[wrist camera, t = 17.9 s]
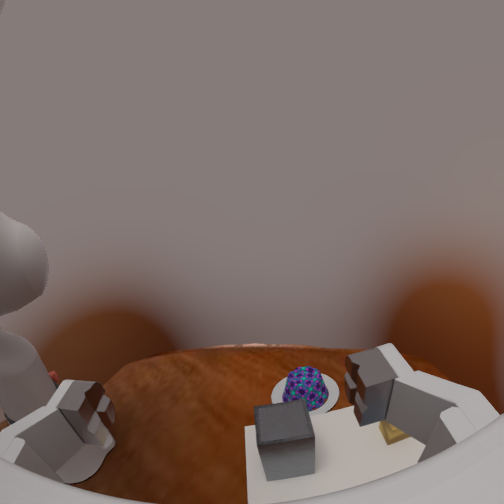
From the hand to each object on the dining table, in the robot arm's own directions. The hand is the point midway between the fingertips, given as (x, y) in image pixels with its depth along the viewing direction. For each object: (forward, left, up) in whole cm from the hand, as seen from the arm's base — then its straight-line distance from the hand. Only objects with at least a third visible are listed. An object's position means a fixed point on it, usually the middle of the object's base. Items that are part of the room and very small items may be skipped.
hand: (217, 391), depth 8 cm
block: (-4, +24, -31) cm, 39 cm away
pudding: (-22, +21, -32) cm, 44 cm away
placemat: (-8, +17, -32) cm, 37 cm away
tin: (-12, +10, -31) cm, 35 cm away
